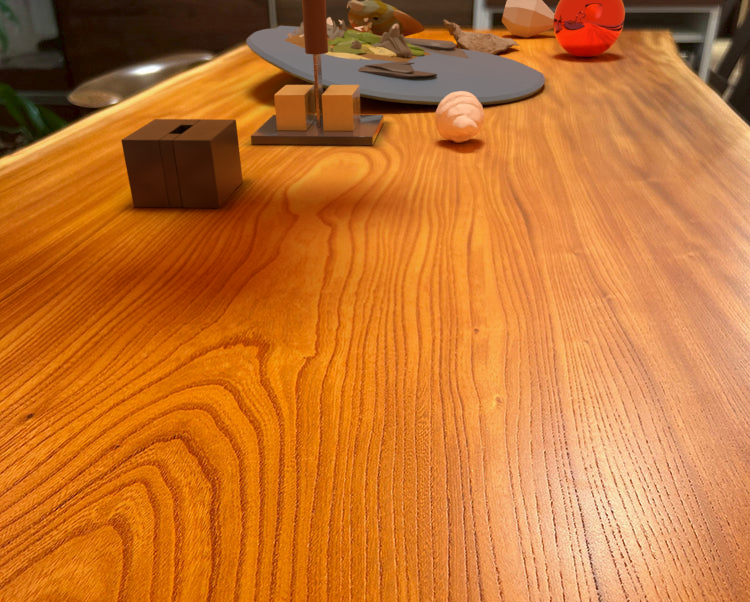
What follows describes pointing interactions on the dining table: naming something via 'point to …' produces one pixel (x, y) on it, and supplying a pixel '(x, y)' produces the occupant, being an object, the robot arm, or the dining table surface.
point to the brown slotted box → (183, 163)
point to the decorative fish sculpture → (381, 18)
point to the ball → (588, 25)
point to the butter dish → (300, 118)
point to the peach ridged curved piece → (459, 116)
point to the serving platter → (398, 65)
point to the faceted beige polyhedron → (527, 17)
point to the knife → (316, 44)
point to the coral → (478, 40)
